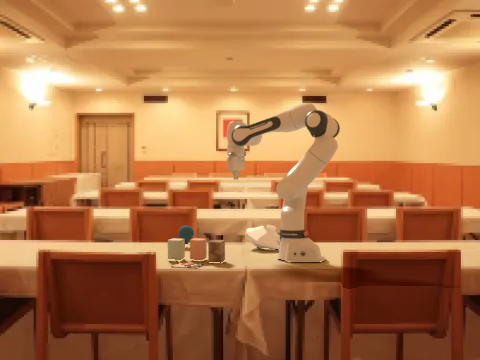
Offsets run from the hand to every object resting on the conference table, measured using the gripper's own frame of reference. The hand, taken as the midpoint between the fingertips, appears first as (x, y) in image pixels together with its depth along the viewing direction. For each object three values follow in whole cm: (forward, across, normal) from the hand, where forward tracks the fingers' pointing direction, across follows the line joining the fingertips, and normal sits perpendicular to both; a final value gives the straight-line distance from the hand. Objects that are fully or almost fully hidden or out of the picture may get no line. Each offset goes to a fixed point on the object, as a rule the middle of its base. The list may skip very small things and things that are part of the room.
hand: (235, 179), depth 279 cm
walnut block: (+37, -31, 0) cm, 48 cm away
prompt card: (+37, -42, +10) cm, 57 cm away
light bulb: (+37, +6, +30) cm, 48 cm away
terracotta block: (+37, -28, +10) cm, 48 cm away
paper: (+37, +14, -13) cm, 42 cm away
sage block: (+37, -31, +20) cm, 52 cm away
